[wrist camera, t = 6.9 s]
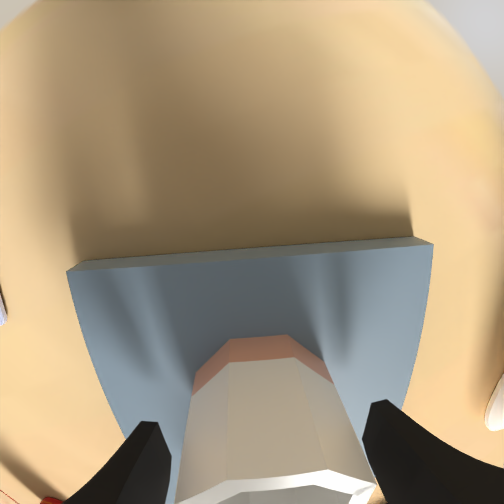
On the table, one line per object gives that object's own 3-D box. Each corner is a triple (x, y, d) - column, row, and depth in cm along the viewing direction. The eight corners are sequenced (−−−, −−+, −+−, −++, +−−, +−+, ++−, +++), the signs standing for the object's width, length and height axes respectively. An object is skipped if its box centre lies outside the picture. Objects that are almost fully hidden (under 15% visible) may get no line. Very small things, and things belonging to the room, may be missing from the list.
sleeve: (208, 430, 12) (200, 543, 6) (189, 340, 10) (157, 476, 5) (318, 420, 12) (351, 528, 6) (326, 329, 11) (391, 453, 5)
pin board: (174, 500, 16) (168, 546, 11) (83, 260, 11) (20, 302, 7) (359, 484, 16) (374, 528, 12) (414, 236, 11) (483, 266, 7)
